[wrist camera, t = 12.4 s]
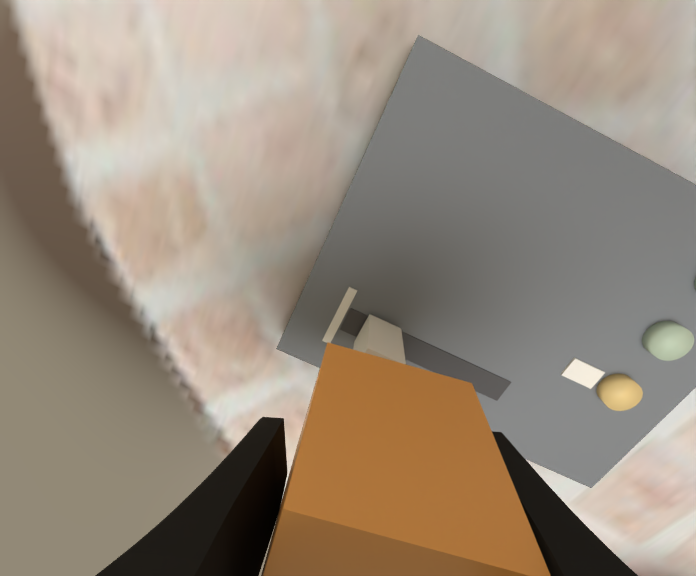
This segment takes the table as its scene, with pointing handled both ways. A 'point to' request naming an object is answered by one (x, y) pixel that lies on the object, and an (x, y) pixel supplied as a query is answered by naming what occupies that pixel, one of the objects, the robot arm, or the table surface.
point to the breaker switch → (381, 340)
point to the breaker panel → (515, 265)
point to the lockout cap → (398, 480)
